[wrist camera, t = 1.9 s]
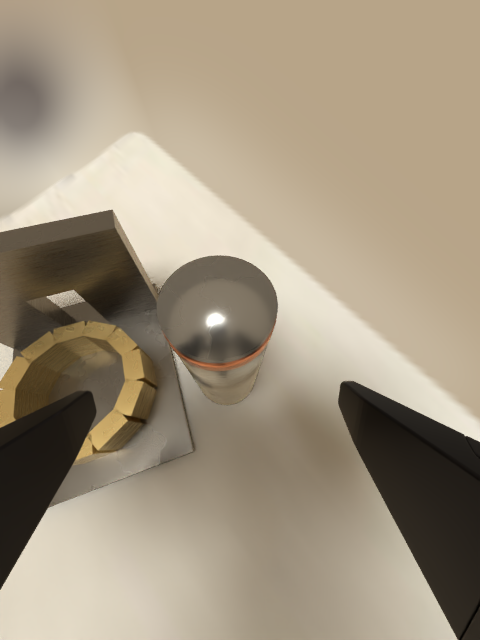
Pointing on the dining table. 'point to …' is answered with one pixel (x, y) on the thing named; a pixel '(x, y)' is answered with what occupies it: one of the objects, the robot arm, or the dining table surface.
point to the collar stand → (90, 346)
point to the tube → (219, 323)
